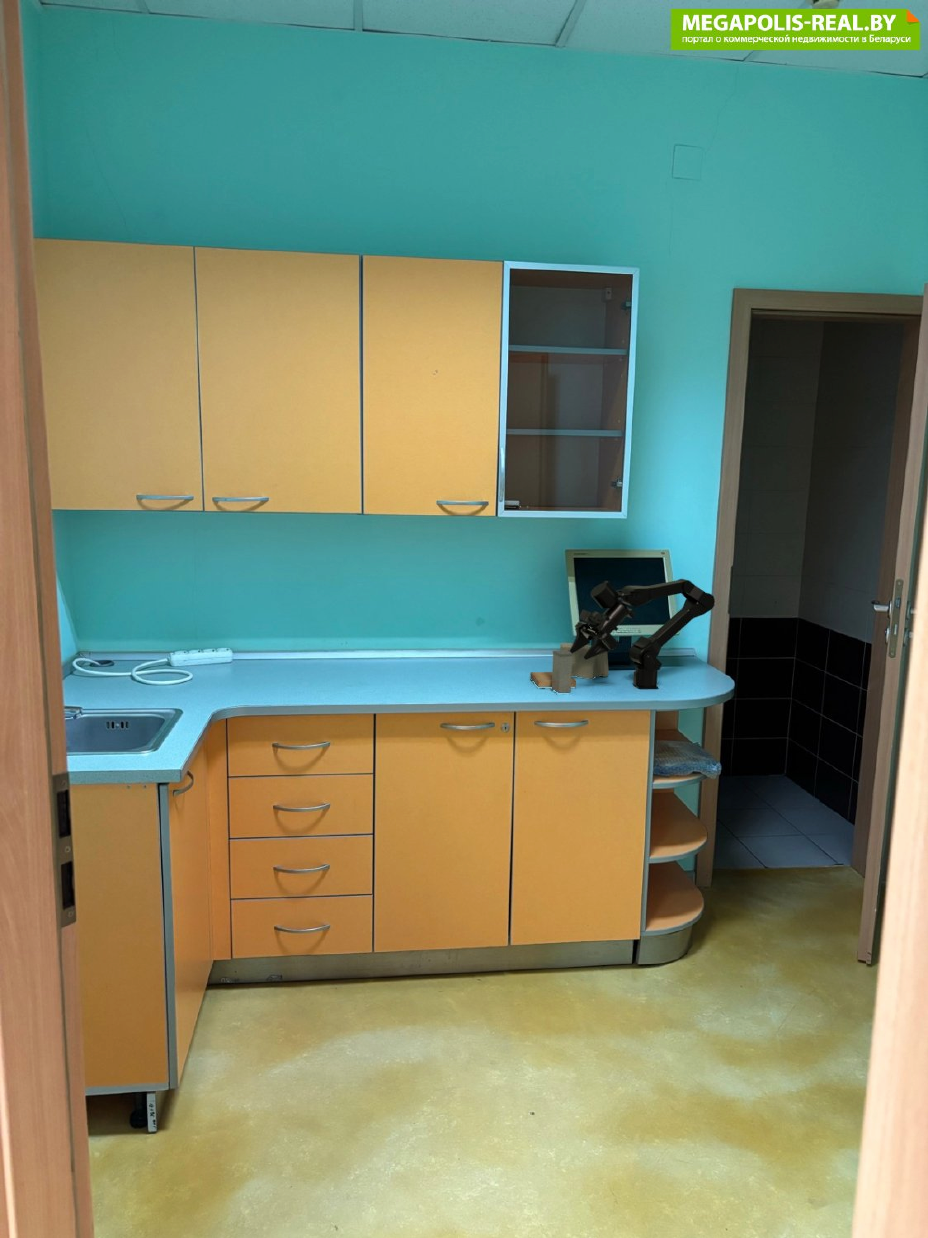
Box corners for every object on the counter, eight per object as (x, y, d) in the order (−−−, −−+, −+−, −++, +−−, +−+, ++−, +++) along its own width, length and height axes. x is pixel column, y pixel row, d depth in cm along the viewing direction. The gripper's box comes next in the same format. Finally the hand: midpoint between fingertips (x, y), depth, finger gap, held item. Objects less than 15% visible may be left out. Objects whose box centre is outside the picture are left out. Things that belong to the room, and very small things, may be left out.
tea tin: (563, 690, 289) (565, 650, 287) (570, 694, 285) (572, 653, 282) (551, 691, 288) (552, 650, 286) (558, 695, 283) (560, 654, 281)
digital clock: (611, 677, 308) (612, 645, 306) (597, 682, 301) (599, 650, 299) (568, 669, 318) (569, 638, 316) (554, 674, 310) (556, 642, 309)
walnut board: (566, 679, 304) (566, 671, 303) (575, 688, 292) (576, 680, 292) (530, 679, 302) (530, 672, 302) (538, 689, 290) (538, 681, 290)
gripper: (581, 596, 293) (548, 632, 292) (610, 606, 276) (575, 644, 274) (602, 620, 298) (569, 655, 296) (632, 631, 280) (597, 668, 278)
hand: (577, 655), depth 286 cm, fingers open, 9 cm apart
